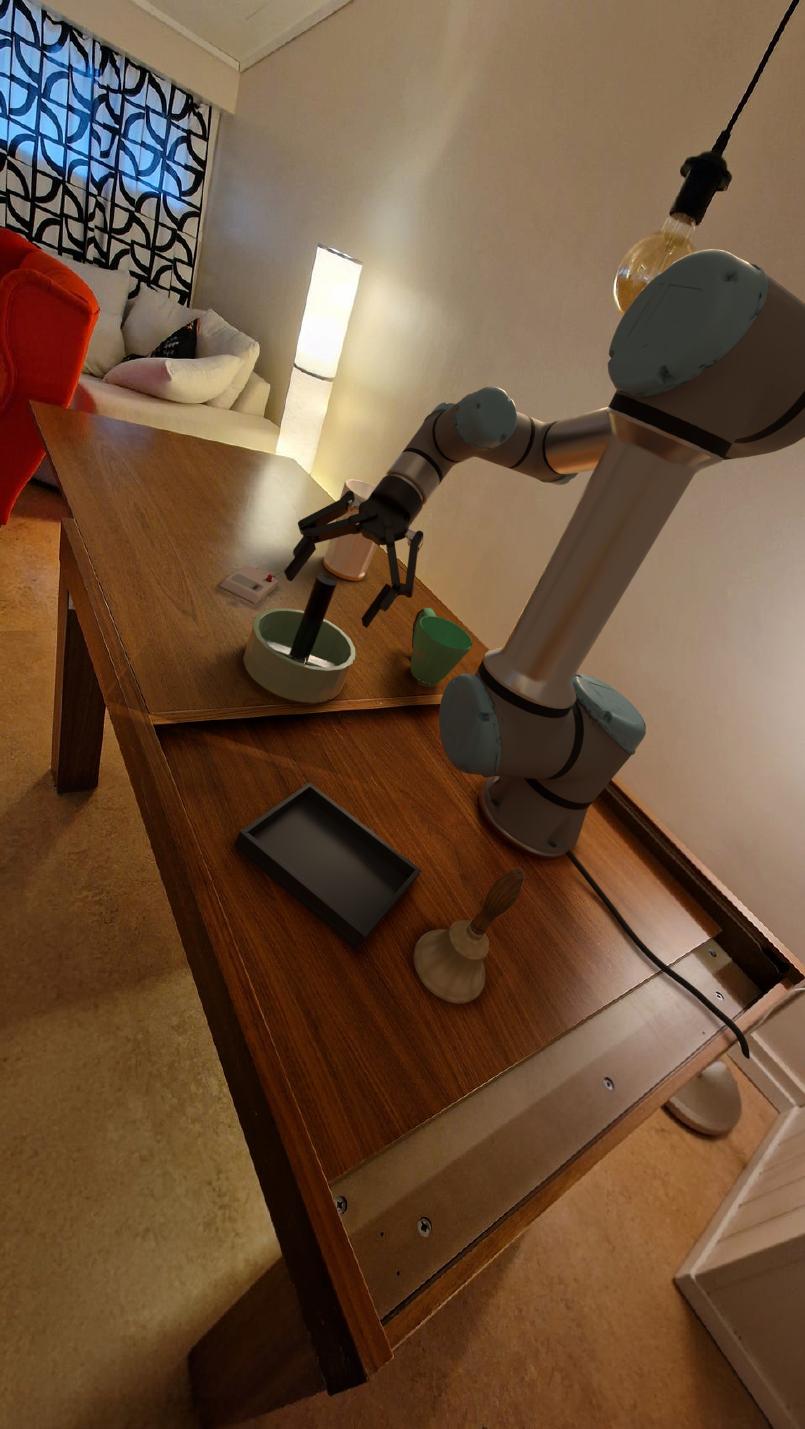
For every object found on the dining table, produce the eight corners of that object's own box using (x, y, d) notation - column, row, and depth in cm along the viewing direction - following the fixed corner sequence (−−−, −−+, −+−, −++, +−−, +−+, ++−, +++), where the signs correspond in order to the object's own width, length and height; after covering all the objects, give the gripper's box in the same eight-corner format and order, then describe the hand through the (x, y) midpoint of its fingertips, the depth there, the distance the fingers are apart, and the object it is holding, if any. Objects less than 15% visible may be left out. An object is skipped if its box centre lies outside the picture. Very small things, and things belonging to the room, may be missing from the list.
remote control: (213, 594, 105) (217, 578, 103) (252, 565, 118) (256, 551, 116) (248, 611, 105) (253, 596, 103) (283, 581, 118) (288, 567, 117)
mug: (456, 698, 110) (481, 653, 104) (407, 693, 105) (431, 645, 99) (427, 650, 120) (449, 606, 114) (382, 642, 115) (403, 596, 109)
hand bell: (398, 964, 64) (466, 869, 55) (436, 917, 71) (502, 825, 62) (462, 1021, 62) (543, 932, 53) (495, 967, 68) (572, 880, 60)
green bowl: (359, 686, 101) (374, 652, 97) (299, 720, 88) (314, 682, 85) (287, 634, 104) (298, 599, 101) (220, 659, 92) (230, 621, 88)
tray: (413, 883, 73) (421, 870, 72) (356, 951, 63) (365, 937, 62) (302, 795, 77) (309, 781, 76) (233, 846, 67) (239, 831, 66)
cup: (375, 587, 132) (406, 512, 122) (326, 578, 126) (354, 498, 117) (359, 561, 140) (387, 487, 130) (312, 551, 134) (338, 473, 124)
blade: (332, 664, 101) (366, 579, 92) (324, 699, 93) (361, 609, 84) (266, 641, 99) (295, 551, 90) (252, 674, 91) (282, 579, 82)
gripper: (471, 543, 98) (397, 651, 93) (339, 468, 101) (262, 569, 97) (476, 517, 90) (396, 633, 86) (334, 437, 94) (250, 545, 89)
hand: (325, 600), depth 91 cm, fingers open, 13 cm apart
